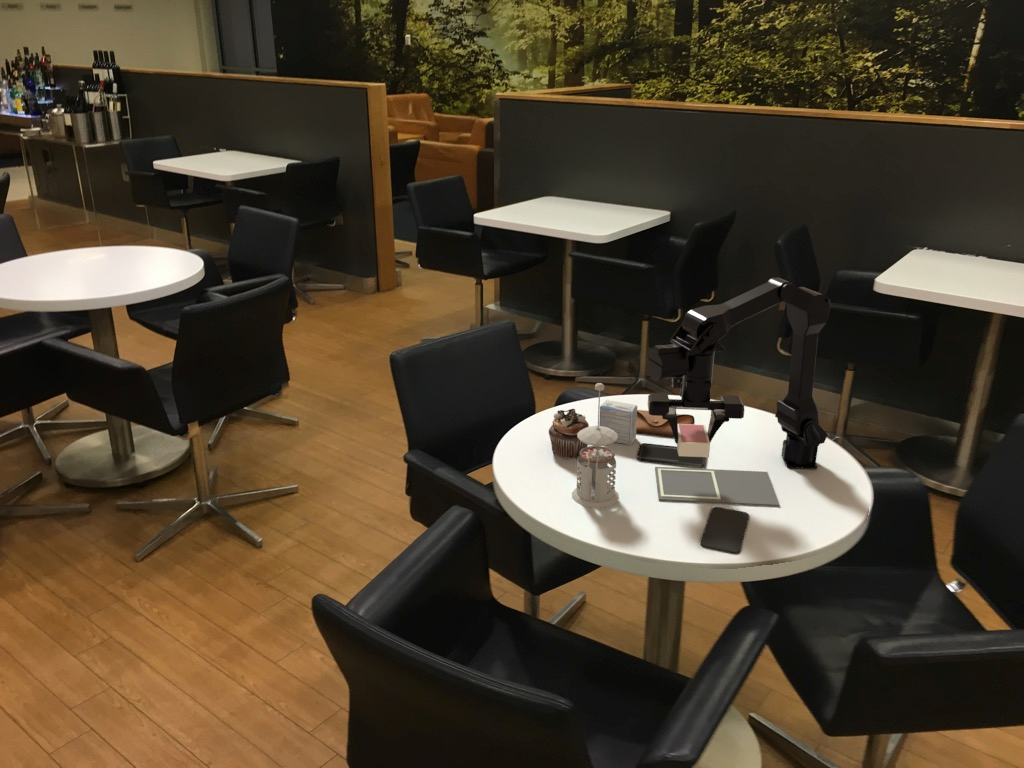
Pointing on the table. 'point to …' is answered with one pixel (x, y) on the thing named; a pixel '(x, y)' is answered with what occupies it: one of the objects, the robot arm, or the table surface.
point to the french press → (596, 466)
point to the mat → (715, 486)
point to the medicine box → (619, 420)
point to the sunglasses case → (658, 423)
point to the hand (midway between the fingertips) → (691, 443)
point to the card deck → (693, 440)
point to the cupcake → (567, 433)
